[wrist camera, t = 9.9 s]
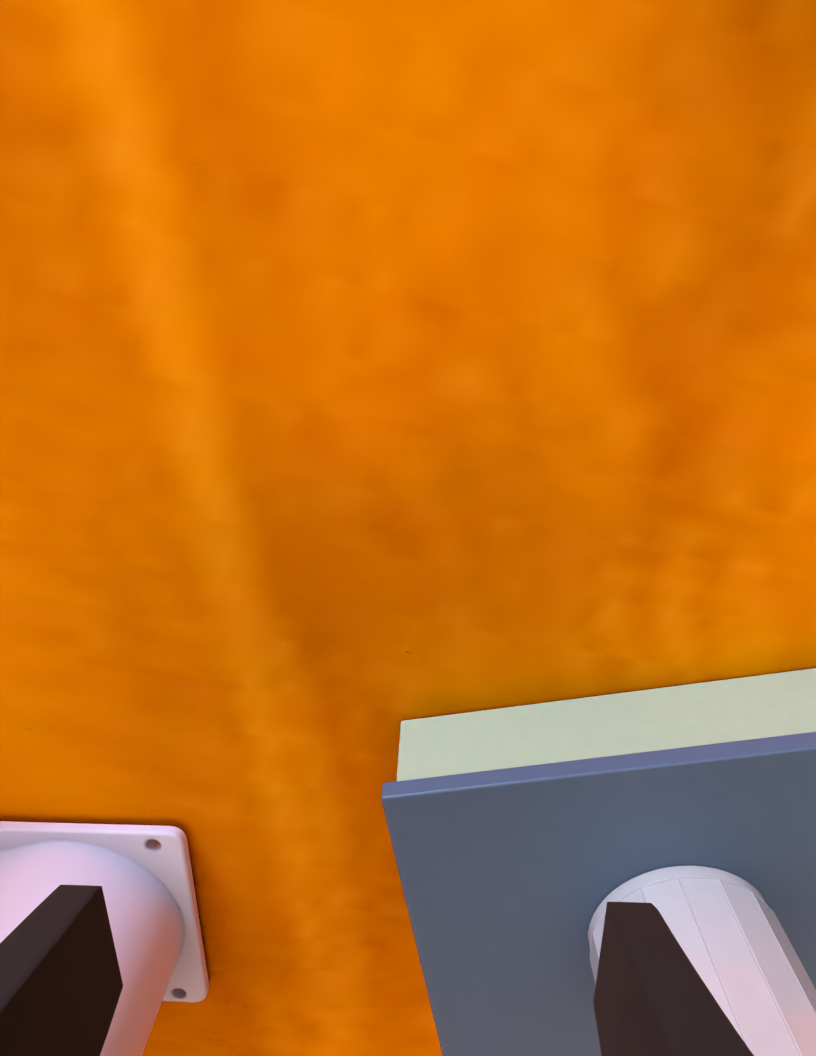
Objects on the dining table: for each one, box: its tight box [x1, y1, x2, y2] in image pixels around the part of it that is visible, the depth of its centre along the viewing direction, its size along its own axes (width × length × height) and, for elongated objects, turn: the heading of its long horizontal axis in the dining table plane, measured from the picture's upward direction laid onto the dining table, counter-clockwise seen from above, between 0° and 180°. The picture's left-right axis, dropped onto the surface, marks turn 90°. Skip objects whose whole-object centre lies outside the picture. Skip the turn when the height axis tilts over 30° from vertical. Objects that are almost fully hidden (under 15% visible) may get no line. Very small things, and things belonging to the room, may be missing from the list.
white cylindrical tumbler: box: [588, 865, 816, 1056], centre depth 16 cm, size 5×5×6 cm
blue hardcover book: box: [381, 668, 816, 1056], centre depth 20 cm, size 15×12×4 cm
